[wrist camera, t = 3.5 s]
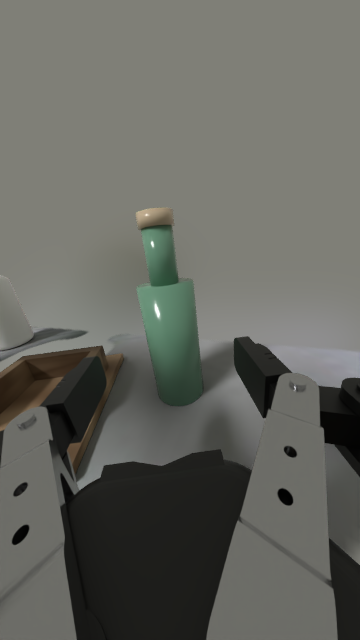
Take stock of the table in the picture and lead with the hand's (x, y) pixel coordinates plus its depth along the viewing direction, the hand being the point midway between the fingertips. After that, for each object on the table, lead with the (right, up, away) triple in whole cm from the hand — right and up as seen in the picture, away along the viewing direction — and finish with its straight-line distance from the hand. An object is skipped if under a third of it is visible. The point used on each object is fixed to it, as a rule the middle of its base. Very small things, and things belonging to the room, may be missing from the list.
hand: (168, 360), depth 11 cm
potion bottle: (-39, -3, +33) cm, 51 cm away
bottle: (+1, -6, +12) cm, 13 cm away
